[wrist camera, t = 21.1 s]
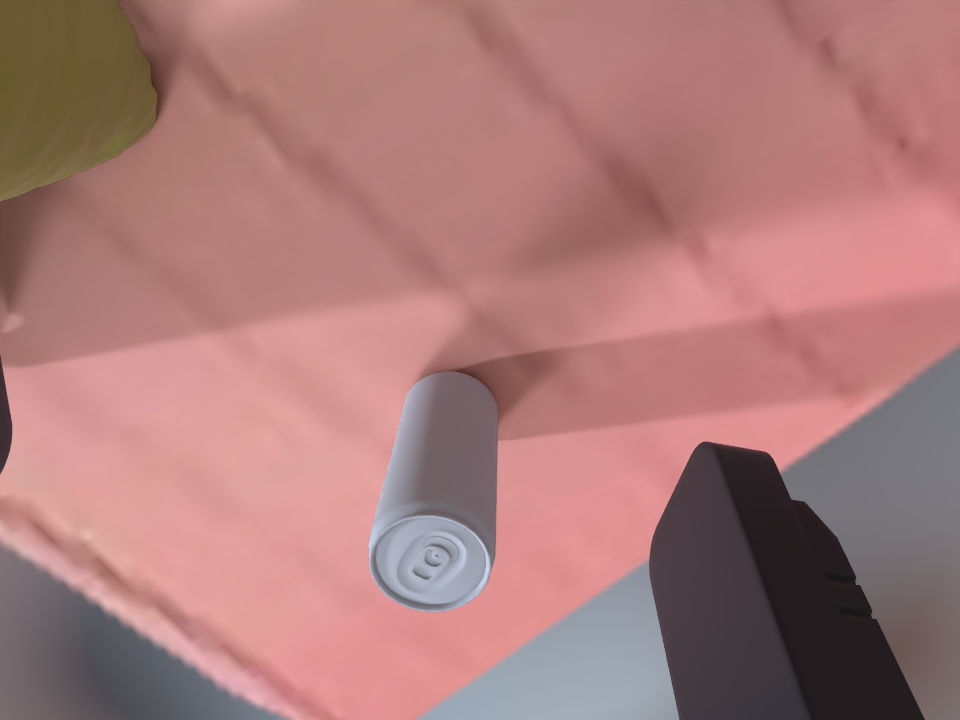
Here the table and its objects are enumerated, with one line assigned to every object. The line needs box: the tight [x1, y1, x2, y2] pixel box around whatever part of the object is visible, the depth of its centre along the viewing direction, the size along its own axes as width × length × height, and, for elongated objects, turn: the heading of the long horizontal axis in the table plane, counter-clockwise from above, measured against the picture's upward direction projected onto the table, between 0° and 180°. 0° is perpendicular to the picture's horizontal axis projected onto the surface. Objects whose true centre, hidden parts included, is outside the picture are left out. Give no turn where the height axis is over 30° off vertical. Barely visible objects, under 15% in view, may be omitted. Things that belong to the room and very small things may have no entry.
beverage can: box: [368, 371, 498, 612], centre depth 34 cm, size 5×5×12 cm
